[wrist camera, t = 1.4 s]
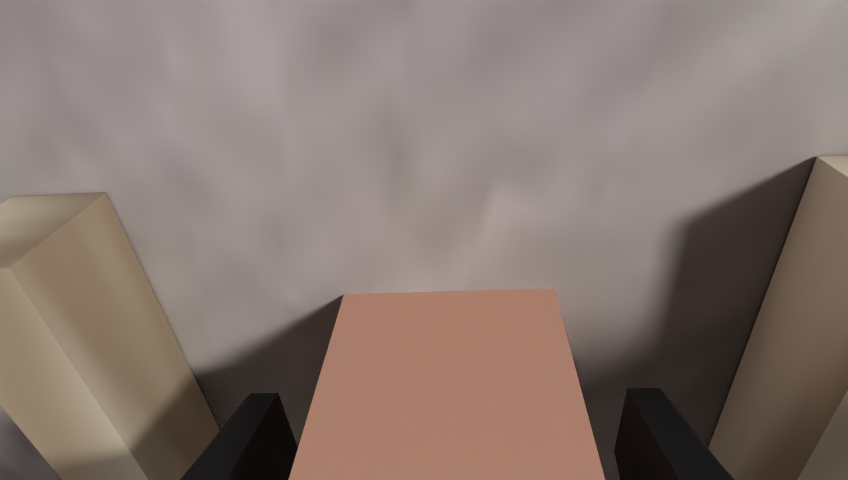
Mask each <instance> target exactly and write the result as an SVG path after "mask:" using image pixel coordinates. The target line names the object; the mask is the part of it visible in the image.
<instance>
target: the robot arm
mask: <svg viewBox="0 0 848 480" xmlns="http://www.w3.org/2000/svg"><path fill="white" fill-rule="evenodd" d="M297 450H298V447H297V445H296V442H295V439H294V436H293V433H292V431H291V428H290V425H289V422H288V419H287V417H286V414H285V411H284V408H283V405H282V403H281V400H280V397H279V394H278V393H251V394H250V395H249V396H248V397H247V398H246V399H245V400H244V401H243V403H242V404H241V405H240V406H239V408H238V409H237V410H236V411H235V413H234V414H233V415H232V416H231V418H230V419H229V420H228V421H227V423H226V424H225V425H224V426H223V428H222V429H221V430H220V431H219V433H218V434H217V435H216V436H215V438H214V439H213V440H212V441H211V443H210V444H209V445H208V446H207V447H206V449H205V450H204V451H203V452H202V454H201V455H200V456H199V457H198V459H197V460H196V461H195V462H194V463H193V464H192V466H191V467H190V468H189V469H188V470H187V472H186V473H185V474H184V475H183V476H182V478H181V479H180V480H289V477H290V473H291V470H292V467H293V463H294V460H295V456H296V453H297ZM614 452H615V457H616V462H617V466H618V471H619V476H620V480H735V479H734V478H733V477H732V476H731V475H730V474H729V473H728V471H727V470H726V469H725V468H724V467H723V466H722V464H721V463H720V462H719V461H718V460H717V458H716V457H715V456H714V455H713V454H712V452H711V451H710V450H709V449H708V448H707V446H706V445H705V444H704V443H703V442H702V440H701V439H700V438H699V437H698V435H697V434H696V433H695V432H694V430H693V429H692V428H691V427H690V425H689V424H688V423H687V422H686V420H685V419H684V418H683V417H682V415H681V414H680V413H679V412H678V410H677V409H676V408H675V406H674V405H673V404H672V403H671V401H670V400H669V399H668V397H667V396H666V395H665V393H664V392H663V391H662V390H660V389H659V388H639V389H627V392H626V397H625V402H624V407H623V412H622V417H621V421H620V426H619V431H618V436H617V441H616V445H615V450H614Z"/></svg>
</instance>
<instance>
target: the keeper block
mask: <svg viewBox="0 0 848 480" xmlns="http://www.w3.org/2000/svg"><path fill="white" fill-rule="evenodd" d="M289 480H605V477H604V473H603V470H602V466H601V462H600V458H599V455H598V451H597V447H596V444H595V440H594V436H593V432H592V429H591V425H590V421H589V417H588V414H587V410H586V406H585V402H584V399H583V395H582V391H581V387H580V384H579V380H578V376H577V372H576V369H575V365H574V361H573V357H572V354H571V350H570V346H569V342H568V339H567V335H566V331H565V327H564V324H563V320H562V316H561V312H560V309H559V305H558V301H557V297H556V294H555V290H554V288H552V289H517V290H481V291H446V292H411V293H376V294H344V296H343V299H342V302H341V306H340V309H339V312H338V316H337V319H336V322H335V326H334V329H333V332H332V336H331V339H330V342H329V346H328V349H327V353H326V356H325V359H324V363H323V366H322V369H321V373H320V376H319V379H318V383H317V386H316V389H315V393H314V396H313V399H312V403H311V406H310V410H309V413H308V416H307V420H306V423H305V426H304V430H303V433H302V436H301V440H300V443H299V446H298V450H297V453H296V456H295V460H294V463H293V467H292V470H291V473H290V477H289Z"/></svg>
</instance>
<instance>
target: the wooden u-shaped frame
mask: <svg viewBox="0 0 848 480" xmlns="http://www.w3.org/2000/svg"><path fill="white" fill-rule="evenodd" d="M0 405H1V406H2V408H3V409H4V410H5V411H6V413H7V414H8V415H9V416H10V417H11V419H12V420H13V421H14V422H15V423H16V425H17V426H18V427H19V428H20V430H21V431H22V432H23V433H24V434H25V436H26V437H27V438H28V439H29V440H30V442H31V443H32V444H33V445H34V446H35V448H36V449H37V450H38V451H39V453H40V454H41V455H42V456H43V457H44V459H45V460H46V461H47V462H48V463H49V465H50V466H51V467H52V468H53V470H54V471H55V472H56V473H57V474H58V476H59V477H60V478H61V479H62V480H180V479H181V478H182V476H183V475H184V474H185V473H186V472H187V470H188V469H189V468H190V467H191V466H192V464H193V463H194V462H195V461H196V460H197V459H198V457H199V456H200V455H201V454H202V452H203V451H204V450H205V449H206V447H207V446H208V445H209V444H210V443H211V441H212V440H213V439H214V438H215V436H216V435H217V434H218V433H219V431H220V429H219V427H218V425H217V423H216V421H215V418H214V416H213V414H212V412H211V410H210V408H209V406H208V404H207V402H206V400H205V398H204V396H203V393H202V391H201V389H200V387H199V385H198V383H197V381H196V379H195V377H194V375H193V373H192V371H191V369H190V366H189V364H188V362H187V360H186V358H185V356H184V354H183V352H182V350H181V348H180V346H179V344H178V341H177V339H176V337H175V335H174V333H173V331H172V329H171V327H170V325H169V323H168V321H167V319H166V316H165V314H164V312H163V310H162V308H161V306H160V304H159V302H158V300H157V298H156V296H155V294H154V292H153V289H152V287H151V285H150V283H149V281H148V279H147V277H146V275H145V273H144V271H143V269H142V267H141V264H140V262H139V260H138V258H137V256H136V254H135V252H134V250H133V248H132V246H131V244H130V242H129V239H128V237H127V235H126V233H125V231H124V229H123V227H122V225H121V223H120V221H119V219H118V217H117V215H116V212H115V210H114V208H113V206H112V204H111V202H110V200H109V198H108V196H107V194H106V192H103V193H83V194H63V195H43V196H23V197H11V198H9V199H8V200H6V201H4V202H3V203H1V204H0ZM708 449H709V450H710V451H711V452H712V454H713V455H714V456H715V457H716V458H717V460H718V461H719V462H720V463H721V464H722V466H723V467H724V468H725V469H726V470H727V471H728V473H729V474H730V475H731V476H732V477H733V478H734V479H735V480H848V155H843V156H823V157H817V159H816V161H815V164H814V167H813V169H812V172H811V175H810V177H809V180H808V183H807V185H806V188H805V191H804V193H803V196H802V199H801V201H800V204H799V207H798V209H797V212H796V215H795V217H794V220H793V223H792V225H791V228H790V231H789V233H788V236H787V239H786V241H785V244H784V247H783V250H782V252H781V255H780V258H779V260H778V263H777V266H776V268H775V271H774V274H773V276H772V279H771V282H770V284H769V287H768V290H767V292H766V295H765V298H764V300H763V303H762V306H761V308H760V311H759V314H758V316H757V319H756V322H755V324H754V327H753V330H752V332H751V335H750V338H749V340H748V343H747V346H746V348H745V351H744V354H743V356H742V359H741V362H740V364H739V367H738V370H737V373H736V375H735V378H734V381H733V383H732V386H731V389H730V391H729V394H728V397H727V399H726V402H725V405H724V407H723V410H722V413H721V415H720V418H719V421H718V423H717V426H716V429H715V431H714V434H713V437H712V439H711V442H710V445H709V447H708Z"/></svg>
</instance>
